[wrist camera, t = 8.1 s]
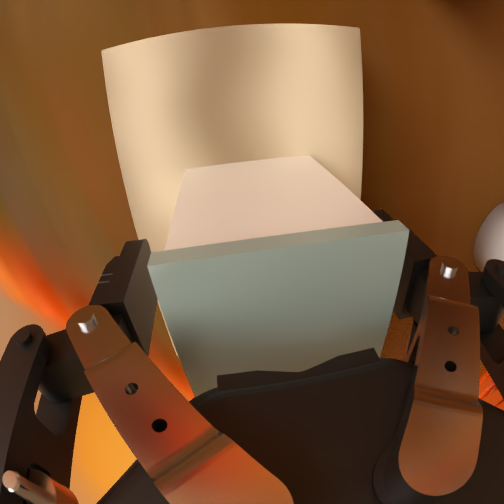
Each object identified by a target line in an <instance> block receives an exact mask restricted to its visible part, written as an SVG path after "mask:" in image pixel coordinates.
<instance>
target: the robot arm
mask: <svg viewBox="0 0 504 504" xmlns="http://www.w3.org/2000/svg"><path fill="white" fill-rule="evenodd" d="M372 212H373V213H374V214H375V215H377V216H378V217H379V218H380V219H381V220H382V221H383V222H386V221H394V220H393V219H392V218H391V217H390V216H389V215H388V214H387V213H386V212H385V211H383V210H376V211H372ZM404 226H405V225H404ZM405 227H407V226H405ZM407 228H408V227H407ZM408 229H409V228H408ZM150 254H151V249H150V246H149V243H148V241H147V239H140V240H134V241H127V242H126V243H125V245H124V247H123V250H122V252H121V254H120V256H116V257H114V258H113V259H112V260H111V261H110V262H109V263H108V264H107V265H106V267H105V269H104V271H103V273H102V276H101V278H100V280H99V284H98V285H97V287H96V289H95V291H94V294H93V296H92V299H91V301H90V303H89V306H86V307H83V308H81V309H79V310H78V311H76V312H75V313H74V314H73V315H72V316H71V317H70V318H69V320H68V321H67V324H66V329H65V330H62V331H59V332H56V333H53V334H50V335H47V336H46V334H45V333H44V331H43V329H42V328H41V327H40V326H38V325H35V324H32V325H27V326H25V327H23V328H21V329H19V330H18V331H17V332H16V333H15V334H14V335H13V336H12V337H11V339H10V341H9V343H8V345H7V347H6V349H5V352H4V354H3V356H2V359H1V361H0V504H78V501H77V498H76V496H75V495H74V493H73V492H72V491H71V490H70V489H69V487H70V477H71V466H72V458H73V449H74V442H75V435H76V429H77V422H78V416H79V411H80V405H81V400H82V396H83V395H86V394H90V393H93V392H95V394H96V395H97V397H98V399H99V401H100V403H101V404H102V406H103V408H104V409H105V411H106V412H107V414H108V416H109V418H110V419H111V421H112V422H113V424H114V426H115V427H116V429H117V430H118V432H119V433H120V435H121V436H122V438H123V439H124V441H125V442H126V444H127V445H128V447H129V448H130V450H131V451H132V453H133V454H134V455H135V457H136V458H137V460H136V461H135V462H134V463H133V464H132V465H131V466H130V467H129V469H128V470H127V471H126V472H125V473H124V474H123V475H122V476H121V477H120V479H119V480H118V481H117V482H116V483H115V484H114V485H113V486H112V487H111V488H110V490H109V491H108V492H107V493H106V494H105V495H104V496H103V497H102V498H101V499H100V500H99V501H98V502H97V504H504V411H503V410H501V409H499V408H497V407H495V406H493V405H491V404H489V403H487V402H485V401H483V400H481V399H479V398H478V396H479V379H480V360H481V361H482V363H483V364H484V366H485V368H486V369H487V371H488V373H489V374H490V376H491V378H492V379H493V381H494V383H495V385H496V386H497V388H498V390H499V392H500V393H501V395H502V397H503V399H504V330H503V329H502V327H501V326H500V325H499V321H500V319H501V317H502V315H503V313H504V261H502V260H498V259H490V260H488V261H487V262H486V264H485V267H484V270H483V272H468V270H467V268H466V266H465V265H464V264H463V263H462V262H460V261H459V260H457V259H454V258H452V257H448V256H437V255H436V254H435V253H434V252H433V251H432V250H431V249H430V248H429V247H428V246H427V245H426V244H425V243H423V242H422V241H420V239H419V238H418V237H417V236H416V235H414V233H413V232H412V231H411V230H410V229H409V236H408V242H407V247H406V253H405V258H404V263H403V268H402V273H401V278H400V282H399V287H398V291H397V295H396V300H395V304H394V308H393V310H394V312H395V313H396V315H397V317H398V318H399V319H403V318H407V317H411V316H412V317H413V322H412V325H411V329H410V334H409V339H408V343H407V347H406V352H405V356H404V360H403V361H401V360H396V359H389V358H379V357H378V355H377V353H376V351H375V349H374V347H373V348H369V349H365V350H361V351H357V352H352V353H348V354H344V355H339V356H337V357H334V358H332V359H330V360H328V361H326V362H323V363H321V364H319V365H317V366H314V367H312V368H310V369H307V370H305V371H301V372H282V371H261V370H256V371H248V372H241V373H233V374H225V375H217V387H216V388H213V389H211V390H208V391H206V392H204V393H202V394H200V395H198V396H197V397H195V398H193V399H192V400H191V401H189V402H188V401H187V400H186V398H185V397H184V396H183V395H182V394H181V393H180V392H179V391H178V390H177V389H176V388H175V387H174V386H173V384H172V383H171V382H170V381H169V380H168V379H167V378H166V377H165V376H164V374H163V373H162V372H161V371H160V370H159V369H158V368H157V366H156V365H155V364H154V363H153V362H152V361H151V359H150V358H149V357H148V355H149V348H150V342H151V335H152V329H153V323H154V317H155V311H156V306H157V300H158V298H157V295H156V292H155V289H154V286H153V283H152V280H151V277H150V274H149V270H148V267H147V265H148V261H149V258H150ZM38 390H39V391H40V392H41V393H42V394H41V398H40V401H39V405H38V409H37V413H36V415H35V411H34V402H35V398H36V394H37V391H38Z"/></svg>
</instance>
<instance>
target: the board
mask: <svg viewBox="0 0 504 504" xmlns="http://www.w3.org/2000/svg"><path fill="white" fill-rule="evenodd" d="M101 51H102V60H103V68H104V76H105V83H106V90H107V97H108V103H109V110H110V116H111V121H112V127H113V132H114V138H115V143H116V148H117V153H118V158H119V162H120V167H121V172H122V176H123V181H124V185H125V189H126V193H127V197H128V202H129V206H130V209H131V213H132V217H133V221H134V225H135V229H136V232H137V236H138V239H139V240H140V239H147V241H148V243H149V246H150V249H151V253H152V252H159V251H165V246H166V242H167V238H168V234H169V230H170V225H171V221H172V217H173V213H174V210H175V206H176V202H177V198H178V194H179V191H180V187H181V183H182V180H183V176H184V173H185V170H187V169H193V168H200V167H207V166H214V165H221V164H229V163H237V162H245V161H254V160H263V159H273V158H283V157H295V156H307V155H310V156H311V157H312V158H313V159H315V160H316V161H317V162H318V163H319V164H321V165H322V166H323V167H324V168H325V169H326V170H327V171H329V172H330V173H331V174H332V175H333V176H334V177H335V178H337V179H338V180H339V181H340V182H341V183H342V184H343V185H344V186H346V187H347V188H348V189H349V190H350V191H351V192H352V193H353V194H354V195H355V196H356V197H358V198H359V199H360V200H361V184H362V161H363V79H362V57H361V41H360V28H355V27H346V26H334V25H318V24H254V25H237V26H226V27H216V28H207V29H199V30H192V31H185V32H179V33H173V34H168V35H163V36H157V37H153V38H148V39H143V40H139V41H135V42H131V43H127V44H123V45H119V46H115V47H112V48H108V49H105V50H101ZM157 301H158V300H157ZM158 304H159V301H158ZM159 307H160V304H159ZM160 310H161V307H160ZM161 313H162V310H161ZM162 316H163V313H162ZM163 319H164V316H163ZM164 322H165V324H166V321H165V319H164ZM166 327H167V324H166ZM167 330H168V327H167ZM168 333H169V336H170V338H171V335H170V332H169V330H168ZM171 341H172V344H173V346H174V343H173V340H172V338H171ZM174 349H175V352H176V354H177V351H176V348H175V346H174ZM177 356H178V354H177Z"/></svg>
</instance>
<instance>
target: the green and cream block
mask: <svg viewBox="0 0 504 504" xmlns="http://www.w3.org/2000/svg"><path fill="white" fill-rule="evenodd" d="M408 236H409V229H408V228H407V227H405V226H404V225H403V224H402V223H401V222H400V221H399V220H394V221H386V222H383V221H382V220H381V219H380V218H379V217H378V216H377V215H375V214H374V213H373V212H372V211H371V210H370V209H369V208H368V207H367V206H366V205H365V204H364V203H363V202H362V201H361V200H360V199H359V198H358V197H356V196H355V195H354V194H353V193H352V192H351V191H350V190H349V189H348V188H347V187H346V186H344V185H343V184H342V183H341V182H340V181H339V180H338V179H337V178H335V177H334V176H333V175H332V174H331V173H330V172H329V171H327V170H326V169H325V168H324V167H323V166H322V165H321V164H319V163H318V162H317V161H316V160H315V159H313V158H312V157H311V156H310V155H307V156H295V157H283V158H273V159H263V160H254V161H245V162H237V163H229V164H221V165H214V166H207V167H200V168H193V169H187V170H185V173H184V176H183V180H182V183H181V187H180V191H179V194H178V198H177V202H176V206H175V210H174V213H173V217H172V221H171V225H170V230H169V234H168V238H167V242H166V246H165V251H159V252H152V253H151V254H150V258H149V261H148V265H147V267H148V270H149V274H150V277H151V280H152V283H153V286H154V289H155V292H156V295H157V298H158V301H159V304H160V307H161V310H162V313H163V316H164V319H165V321H166V324H167V327H168V330H169V332H170V335H171V338H172V340H173V343H174V346H175V348H176V351H177V354H178V356H179V359H180V361H181V364H182V366H183V369H184V371H185V374H186V376H187V379H188V381H189V384H190V386H191V388H192V391H193V393H194V395H195V397H197V396H198V395H200V394H202V393H204V392H206V391H208V390H211V389H213V388H216V387H217V375H225V374H233V373H241V372H248V371H256V370H261V371H282V372H301V371H305V370H307V369H310V368H312V367H314V366H317V365H319V364H321V363H323V362H326V361H328V360H330V359H332V358H334V357H337V356H339V355H344V354H348V353H352V352H357V351H361V350H365V349H369V348H373V347H374V349H375V351H376V353H377V355H378V357H379V358H380V354H381V351H382V348H383V344H384V341H385V337H386V334H387V330H388V327H389V323H390V319H391V315H392V312H393V308H394V304H395V300H396V295H397V291H398V287H399V282H400V278H401V273H402V268H403V263H404V258H405V253H406V247H407V242H408Z"/></svg>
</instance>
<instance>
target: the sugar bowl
mask: <svg viewBox="0 0 504 504" xmlns="http://www.w3.org/2000/svg"><path fill="white" fill-rule="evenodd" d="M490 259H498V260H502V261H504V202H503V203H501V204H499V205H498V206H497V207H495V208H494V209H493V210H492V211H491V212H490V213H489V215H488V216H487V217H486V219H485V220H484V222H483V224H482V225H481V227H480V229H479V231H478V234H477V236H476V240H475V243H474V248H473V260H474V264H475V266H476V267H477V268H478V269H479V270H480V271H481V272H483V270H484V267H485V264H486V262H487V261H488V260H490Z"/></svg>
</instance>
